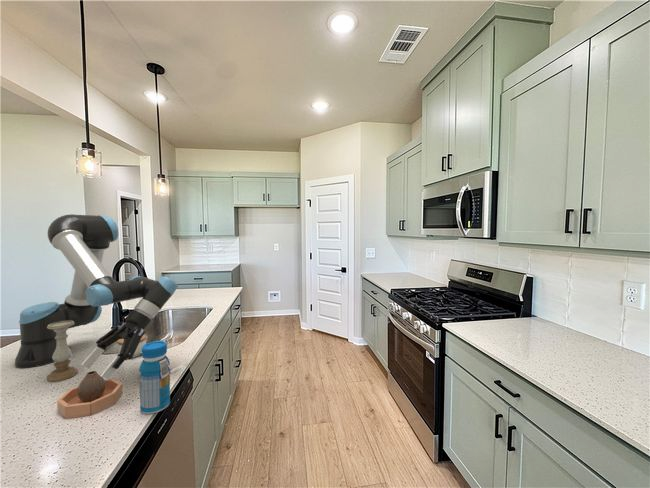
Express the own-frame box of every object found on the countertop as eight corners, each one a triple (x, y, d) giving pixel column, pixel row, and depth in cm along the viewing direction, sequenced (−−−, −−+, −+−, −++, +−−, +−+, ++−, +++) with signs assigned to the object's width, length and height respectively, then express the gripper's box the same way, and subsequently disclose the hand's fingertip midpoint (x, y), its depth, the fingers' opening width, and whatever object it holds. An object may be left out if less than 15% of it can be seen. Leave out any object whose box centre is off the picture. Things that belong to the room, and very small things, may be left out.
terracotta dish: (51, 407, 88) (51, 396, 88) (107, 384, 101) (107, 375, 101) (72, 423, 81) (71, 411, 81) (129, 397, 94) (129, 387, 94)
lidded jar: (132, 361, 119) (131, 339, 119) (111, 359, 122) (110, 337, 121) (152, 351, 130) (152, 331, 129) (132, 349, 132) (132, 329, 132)
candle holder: (39, 381, 103) (37, 327, 102) (62, 370, 112) (61, 319, 111) (62, 382, 103) (60, 327, 102) (84, 370, 111) (82, 320, 110)
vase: (82, 408, 86) (82, 380, 86) (74, 400, 90) (73, 374, 90) (109, 397, 92) (108, 371, 92) (100, 390, 96) (99, 365, 96)
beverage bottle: (140, 419, 83) (139, 352, 82) (138, 404, 90) (137, 343, 89) (172, 408, 88) (171, 346, 87) (168, 395, 95) (167, 337, 94)
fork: (142, 388, 101) (142, 383, 101) (185, 362, 120) (185, 358, 120) (149, 389, 100) (149, 384, 100) (192, 363, 119) (192, 359, 119)
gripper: (169, 325, 99) (123, 387, 87) (132, 314, 112) (87, 367, 100) (154, 314, 95) (102, 378, 82) (117, 304, 107) (67, 358, 95)
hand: (94, 372), depth 91 cm, fingers open, 13 cm apart
